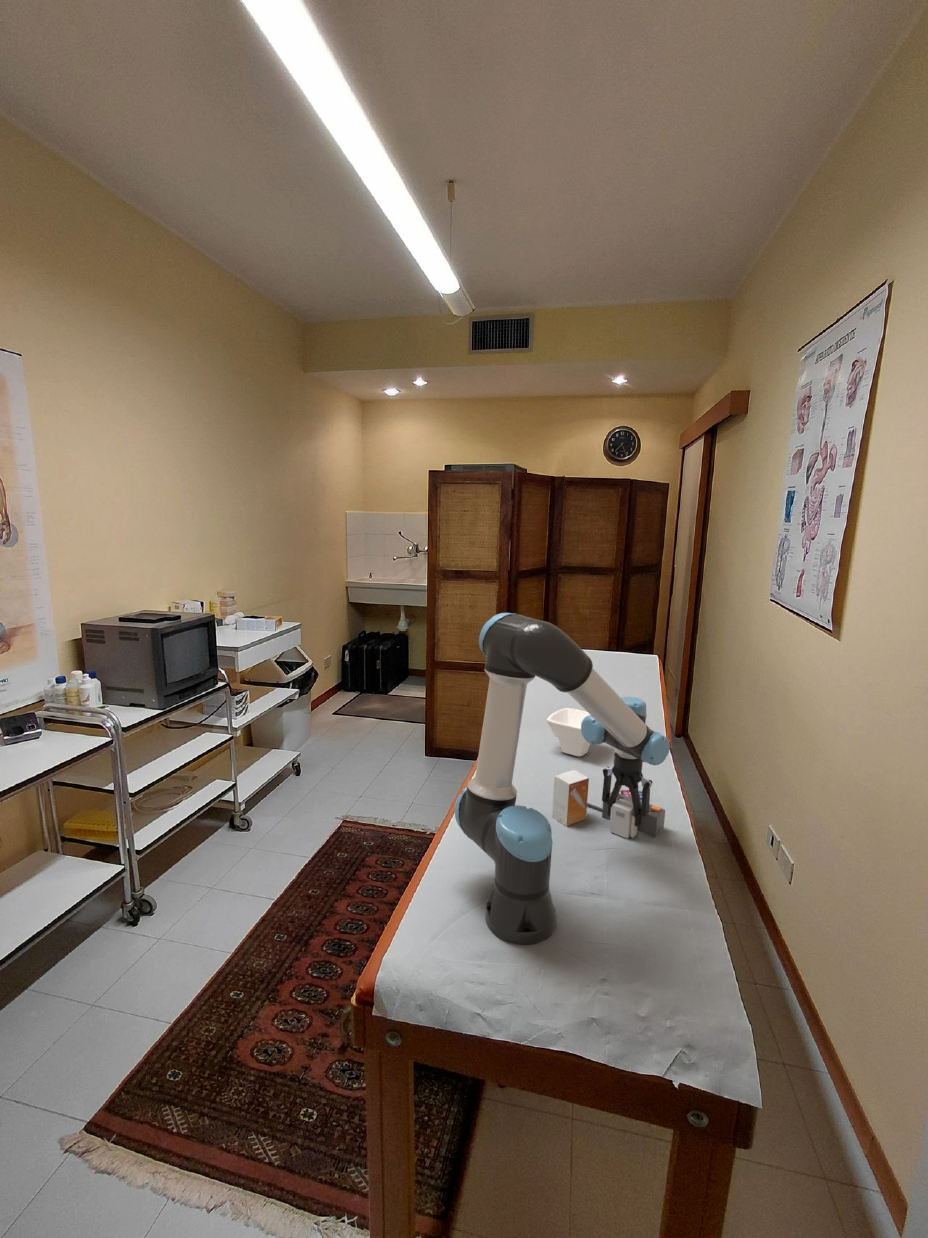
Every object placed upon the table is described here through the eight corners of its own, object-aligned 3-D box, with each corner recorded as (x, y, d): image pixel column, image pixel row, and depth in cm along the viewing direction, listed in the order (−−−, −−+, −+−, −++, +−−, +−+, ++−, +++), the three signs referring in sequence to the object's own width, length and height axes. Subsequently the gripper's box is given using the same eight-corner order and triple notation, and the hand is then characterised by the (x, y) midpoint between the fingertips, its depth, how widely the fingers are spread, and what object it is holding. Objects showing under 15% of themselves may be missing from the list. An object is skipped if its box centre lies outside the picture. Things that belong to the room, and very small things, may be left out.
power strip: (655, 838, 149) (657, 816, 148) (577, 807, 165) (579, 787, 164) (663, 829, 154) (665, 807, 153) (587, 800, 169) (588, 780, 168)
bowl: (562, 739, 218) (564, 706, 216) (608, 751, 207) (611, 716, 205) (540, 754, 203) (542, 718, 201) (589, 768, 192) (591, 731, 190)
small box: (566, 827, 154) (569, 784, 152) (551, 817, 159) (553, 775, 157) (586, 819, 158) (589, 777, 156) (571, 809, 164) (573, 769, 161)
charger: (627, 838, 148) (629, 811, 147) (610, 831, 151) (612, 805, 150) (640, 826, 155) (642, 800, 153) (623, 819, 158) (625, 794, 157)
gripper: (667, 758, 145) (660, 838, 149) (603, 740, 157) (599, 814, 161) (656, 768, 139) (650, 850, 143) (591, 748, 151) (587, 824, 155)
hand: (623, 831), depth 152 cm, fingers open, 5 cm apart
